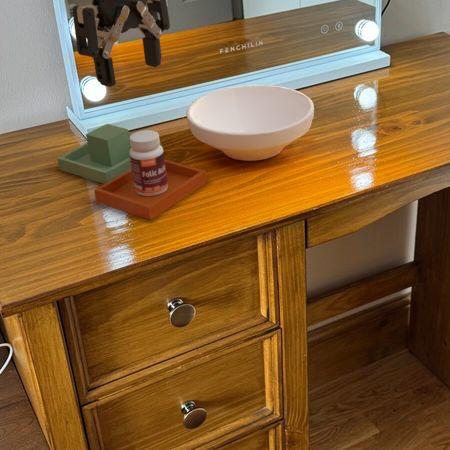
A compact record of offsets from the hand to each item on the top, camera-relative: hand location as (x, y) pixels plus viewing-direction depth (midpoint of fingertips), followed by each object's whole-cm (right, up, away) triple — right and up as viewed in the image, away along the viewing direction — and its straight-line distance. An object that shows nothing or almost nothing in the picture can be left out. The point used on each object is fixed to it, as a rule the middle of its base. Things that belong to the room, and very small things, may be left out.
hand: (131, 75), depth 100 cm
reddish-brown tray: (+1, -15, +9) cm, 18 cm away
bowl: (+15, -8, +21) cm, 27 cm away
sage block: (-7, -9, +18) cm, 22 cm away
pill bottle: (+1, -15, +9) cm, 17 cm away
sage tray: (-7, -10, +19) cm, 22 cm away
